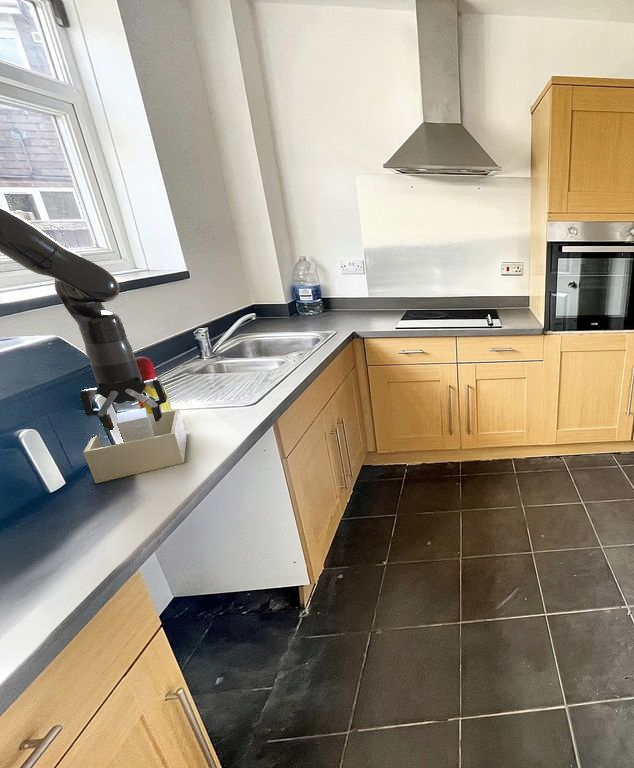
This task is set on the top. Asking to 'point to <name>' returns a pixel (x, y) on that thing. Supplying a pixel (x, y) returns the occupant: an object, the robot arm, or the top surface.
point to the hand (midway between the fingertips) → (135, 424)
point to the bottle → (149, 374)
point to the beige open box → (139, 450)
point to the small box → (134, 425)
